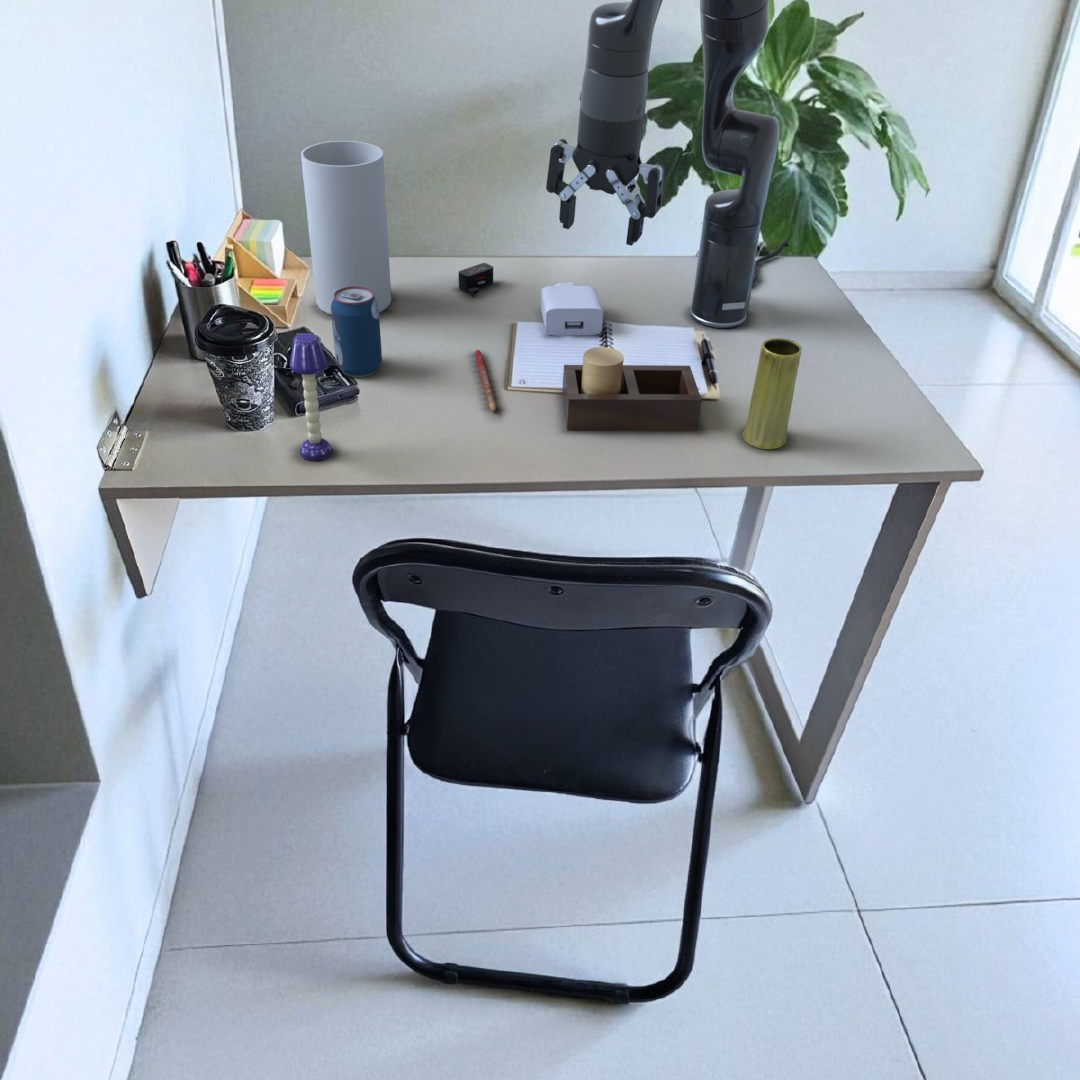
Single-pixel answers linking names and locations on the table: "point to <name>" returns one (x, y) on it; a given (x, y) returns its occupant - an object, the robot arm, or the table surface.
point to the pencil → (485, 381)
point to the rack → (635, 400)
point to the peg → (602, 371)
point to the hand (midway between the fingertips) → (599, 234)
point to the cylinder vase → (347, 219)
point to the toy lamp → (310, 392)
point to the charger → (571, 310)
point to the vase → (772, 394)
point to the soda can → (356, 331)
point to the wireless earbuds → (475, 278)
